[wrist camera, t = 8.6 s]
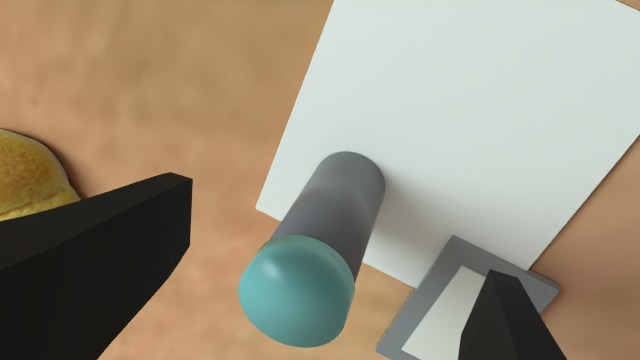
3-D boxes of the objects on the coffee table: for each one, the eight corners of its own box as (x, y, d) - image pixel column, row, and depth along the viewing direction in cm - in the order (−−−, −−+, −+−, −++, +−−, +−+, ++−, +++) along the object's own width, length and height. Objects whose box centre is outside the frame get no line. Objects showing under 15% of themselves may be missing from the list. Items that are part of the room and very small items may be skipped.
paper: (710, 43, 16) (713, 44, 16) (483, 319, 23) (484, 322, 23) (376, -108, 17) (375, -109, 16) (257, 206, 24) (255, 208, 23)
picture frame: (558, 283, 21) (560, 292, 21) (464, 388, 25) (464, 398, 25) (452, 232, 21) (452, 239, 21) (377, 344, 25) (375, 352, 25)
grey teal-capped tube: (398, 165, 20) (360, 284, 14) (373, 228, 22) (328, 363, 15) (323, 138, 21) (249, 240, 14) (304, 202, 23) (230, 321, 16)
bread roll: (34, 102, 25) (-36, 129, 21) (121, 248, 28) (72, 293, 24) (-63, 143, 28) (-137, 173, 25) (25, 270, 31) (-31, 312, 28)
